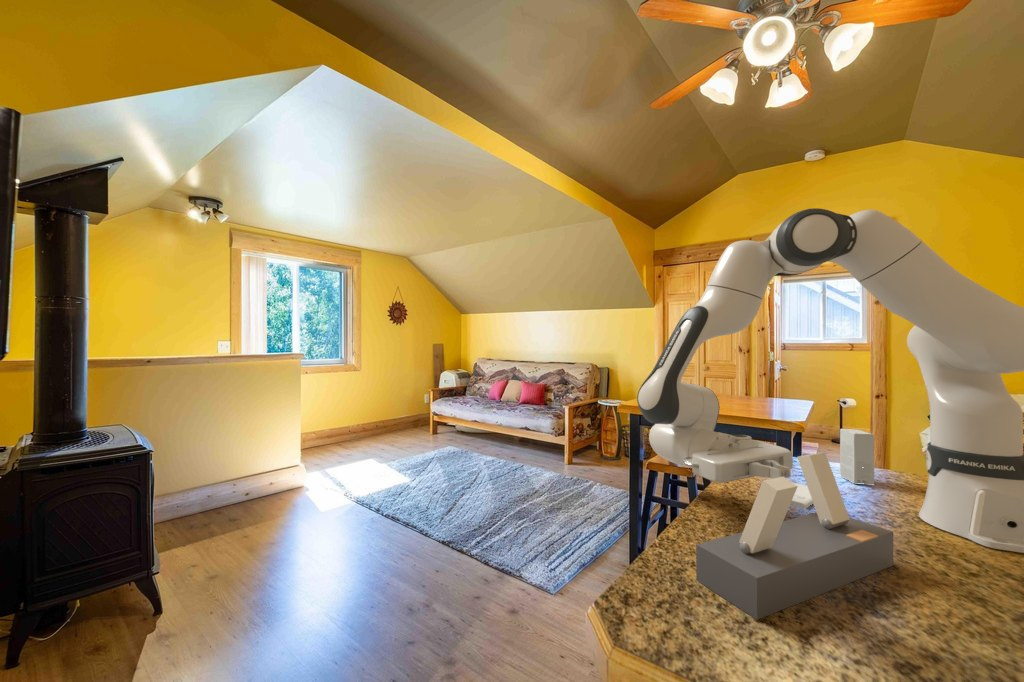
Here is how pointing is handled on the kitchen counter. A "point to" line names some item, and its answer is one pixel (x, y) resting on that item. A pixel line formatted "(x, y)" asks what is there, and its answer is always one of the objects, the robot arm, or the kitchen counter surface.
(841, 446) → the skincare box
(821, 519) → the lever
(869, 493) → the kitchen counter surface
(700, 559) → the switch box
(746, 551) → the lever
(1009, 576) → the kitchen counter surface
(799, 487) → the external hard drive
